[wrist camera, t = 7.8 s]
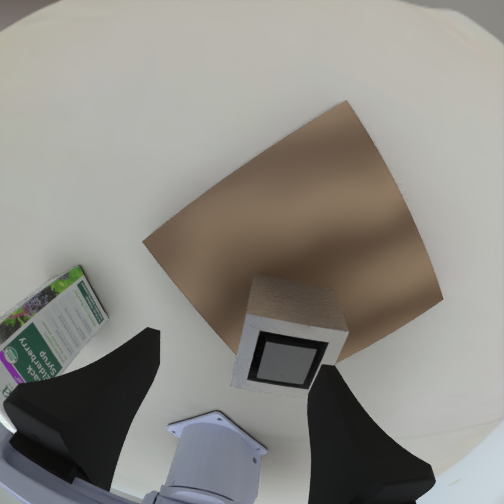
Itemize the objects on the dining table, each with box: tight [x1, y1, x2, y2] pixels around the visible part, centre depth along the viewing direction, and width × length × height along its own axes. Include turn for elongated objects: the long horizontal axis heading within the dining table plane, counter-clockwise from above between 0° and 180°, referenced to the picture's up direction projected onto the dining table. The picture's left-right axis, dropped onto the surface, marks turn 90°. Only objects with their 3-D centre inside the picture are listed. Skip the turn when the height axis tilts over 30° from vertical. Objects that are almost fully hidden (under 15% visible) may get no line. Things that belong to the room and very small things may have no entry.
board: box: [142, 100, 443, 363], centre depth 20 cm, size 16×16×2 cm
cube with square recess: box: [231, 273, 349, 399], centre depth 18 cm, size 6×6×5 cm
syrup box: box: [0, 266, 109, 432], centre depth 17 cm, size 6×6×14 cm
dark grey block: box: [257, 331, 317, 384], centre depth 18 cm, size 3×3×5 cm
